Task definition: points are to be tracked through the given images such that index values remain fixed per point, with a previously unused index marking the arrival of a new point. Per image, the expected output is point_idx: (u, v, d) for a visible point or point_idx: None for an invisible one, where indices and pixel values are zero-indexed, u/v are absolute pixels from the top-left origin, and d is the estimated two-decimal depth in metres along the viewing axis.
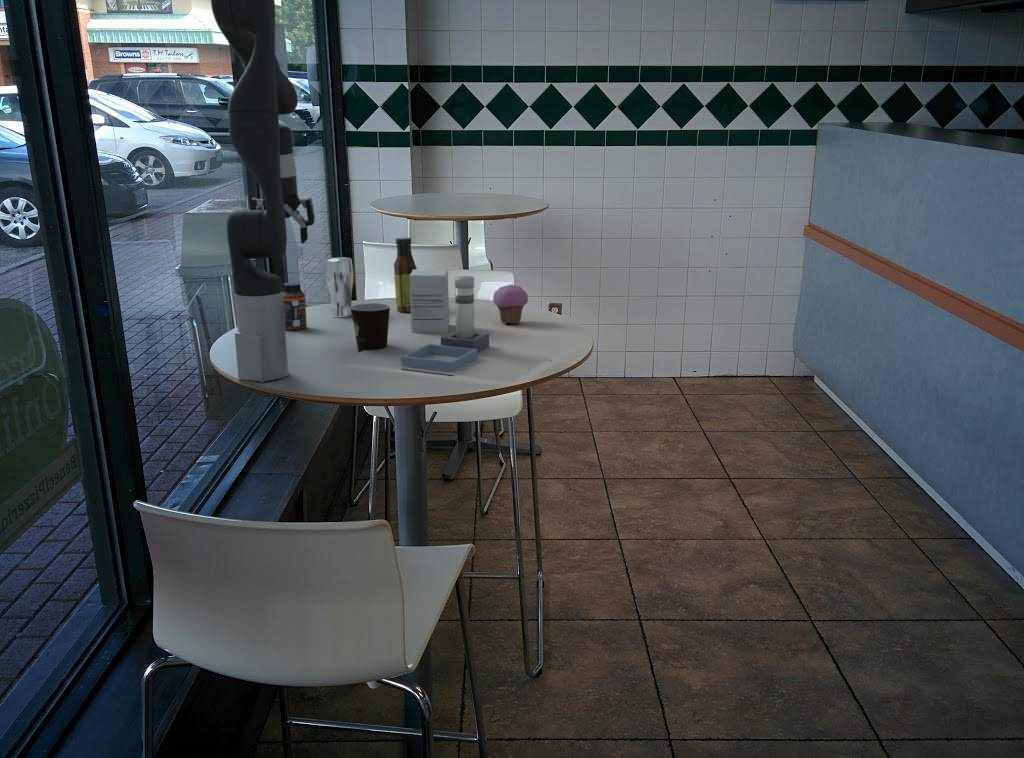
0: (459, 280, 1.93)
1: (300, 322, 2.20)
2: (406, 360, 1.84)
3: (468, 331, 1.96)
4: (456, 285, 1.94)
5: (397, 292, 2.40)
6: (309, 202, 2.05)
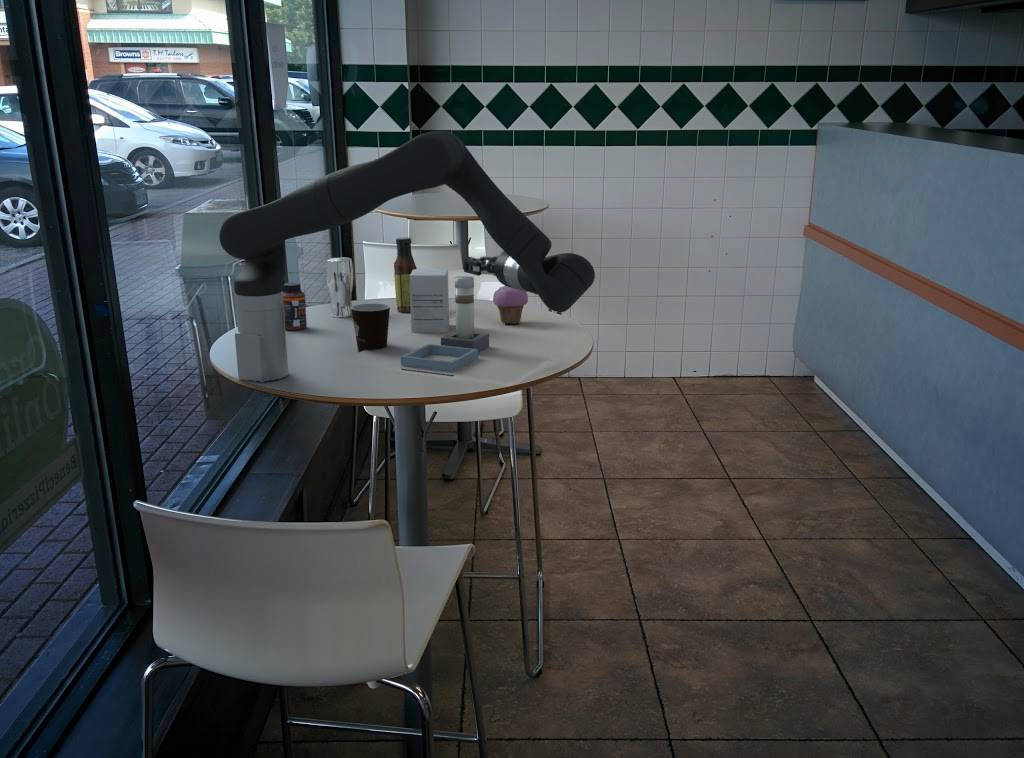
0: (459, 280, 1.93)
1: (300, 322, 2.20)
2: (406, 360, 1.84)
3: (468, 331, 1.96)
4: (456, 285, 1.93)
5: (397, 292, 2.40)
6: (476, 262, 1.72)
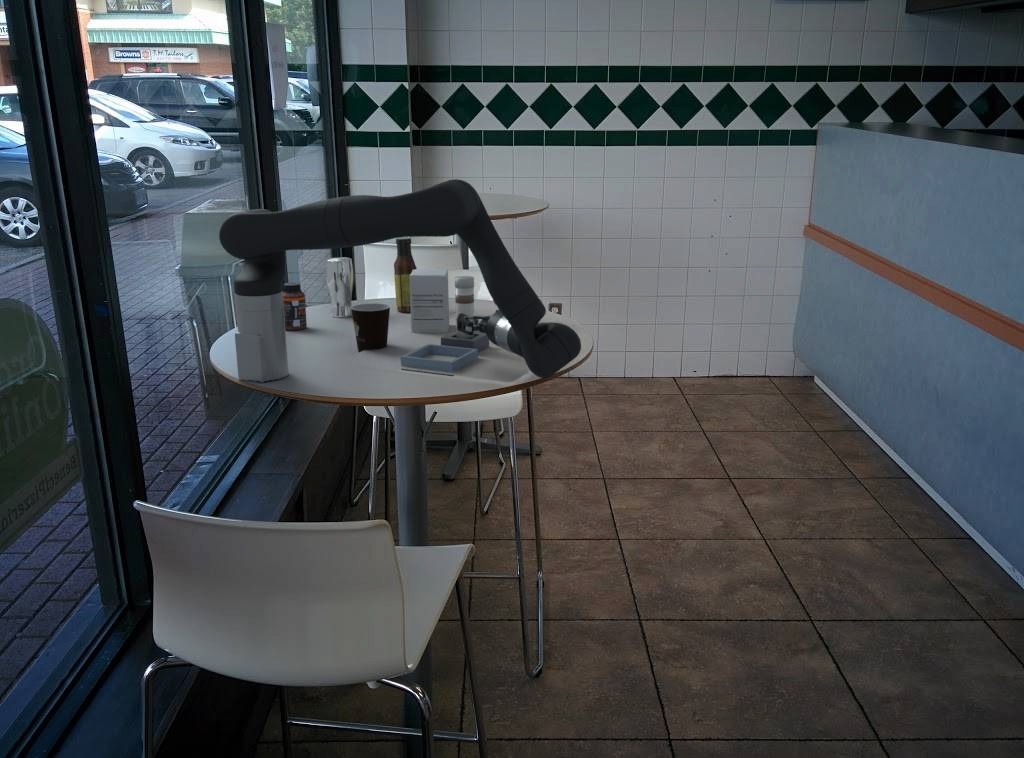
0: (459, 280, 1.93)
1: (300, 322, 2.20)
2: (406, 360, 1.84)
3: None
4: (456, 285, 1.94)
5: (397, 292, 2.40)
6: (468, 322, 1.78)
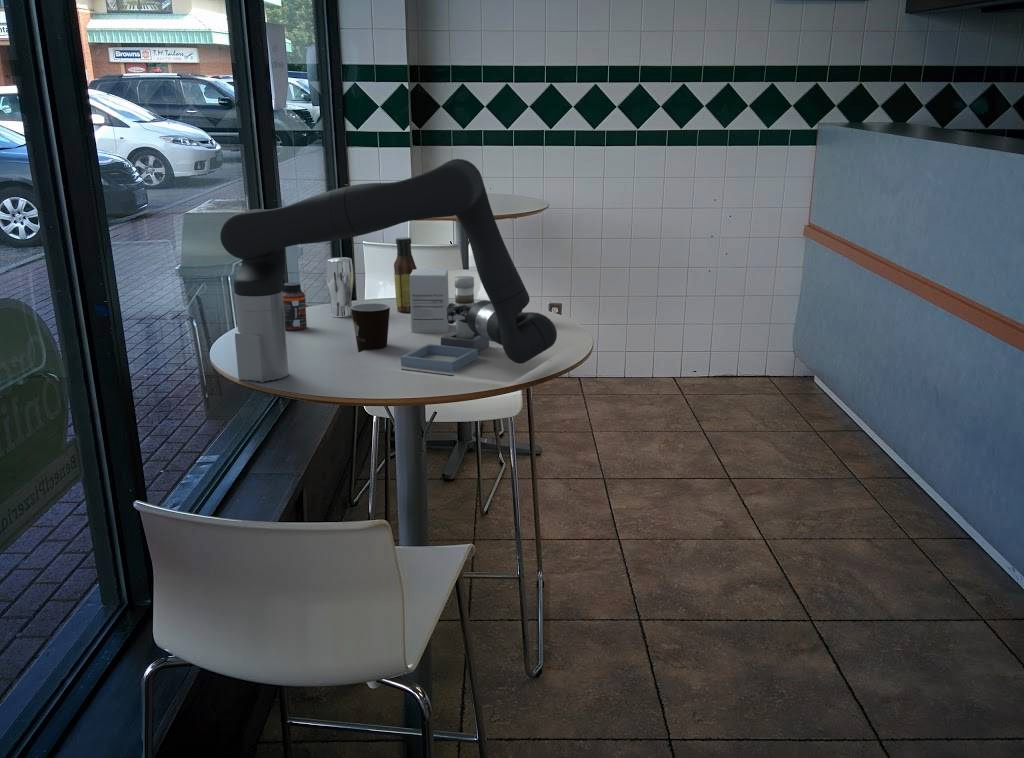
0: (459, 280, 1.93)
1: (300, 322, 2.20)
2: (406, 360, 1.84)
3: (468, 331, 1.96)
4: (456, 285, 1.94)
5: (397, 292, 2.40)
6: (449, 311, 1.88)
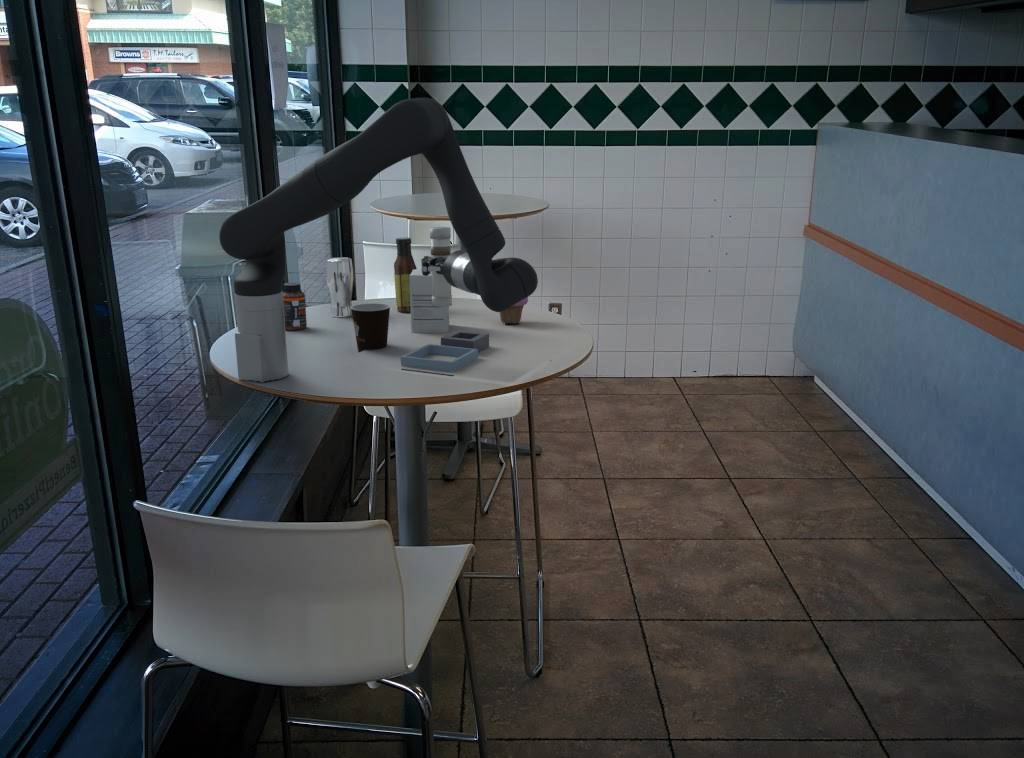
0: (434, 230, 1.80)
1: (300, 322, 2.20)
2: (406, 360, 1.84)
3: (444, 285, 1.84)
4: (431, 236, 1.81)
5: (397, 292, 2.40)
6: (423, 262, 1.75)
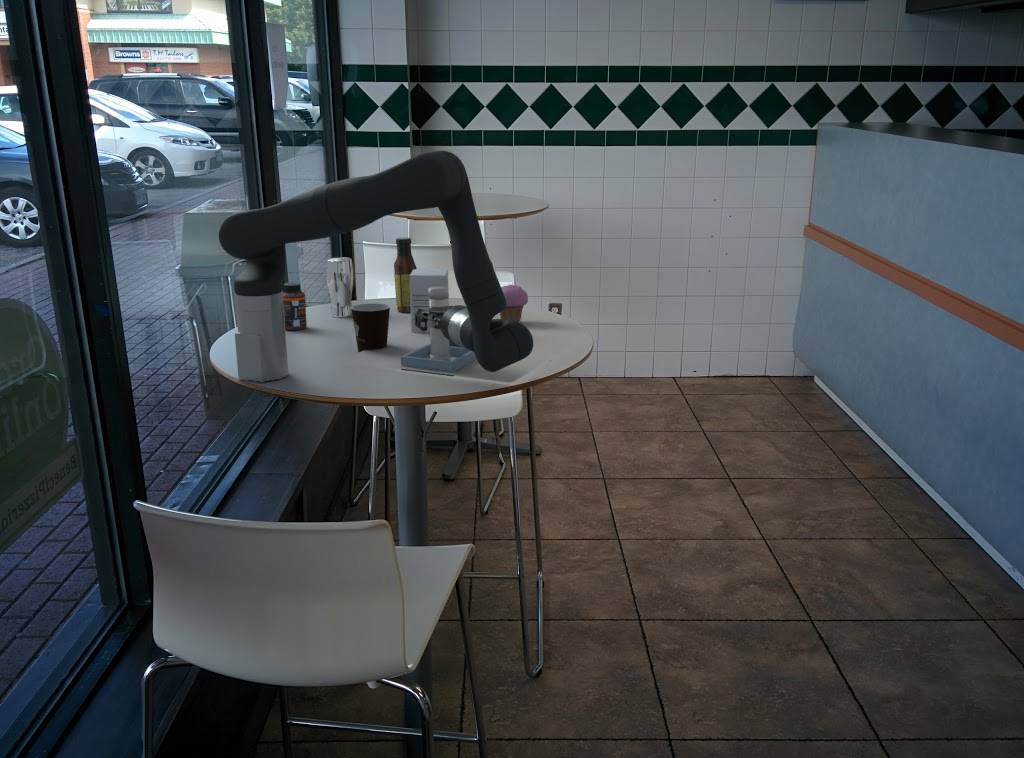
0: (432, 290, 1.82)
1: (300, 322, 2.20)
2: (406, 360, 1.84)
3: (442, 344, 1.85)
4: (429, 296, 1.83)
5: (397, 292, 2.40)
6: (422, 318, 1.76)
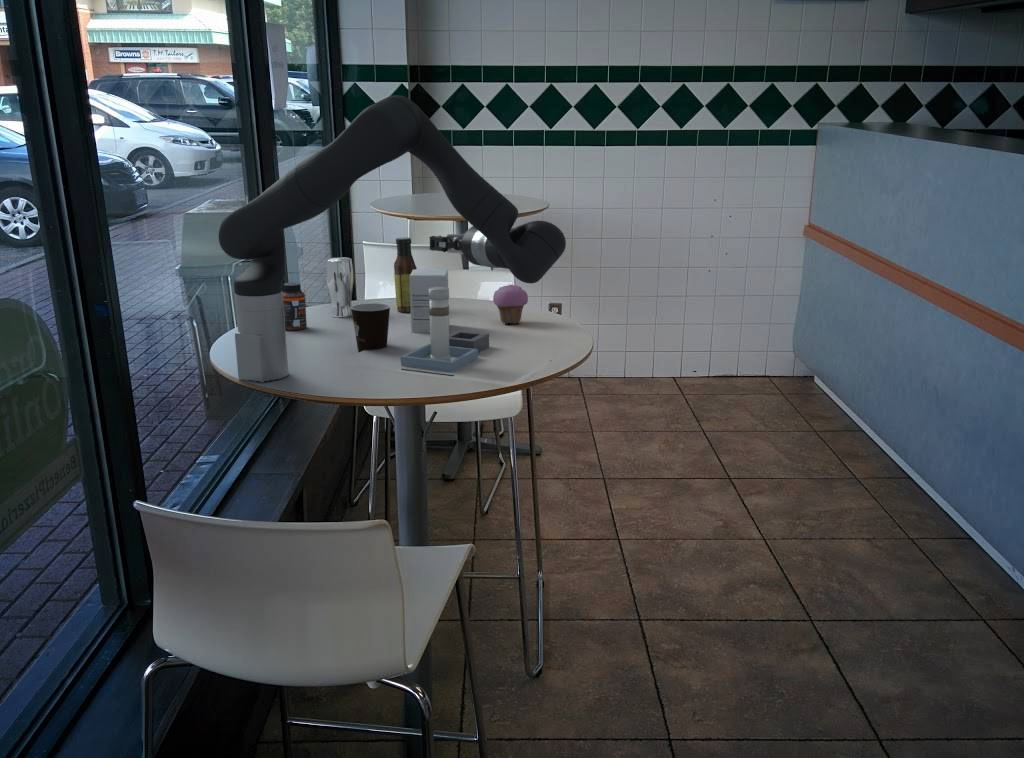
0: (433, 291, 1.82)
1: (300, 322, 2.20)
2: (406, 360, 1.84)
3: (442, 345, 1.85)
4: (430, 296, 1.83)
5: (397, 292, 2.40)
6: (442, 237, 1.64)
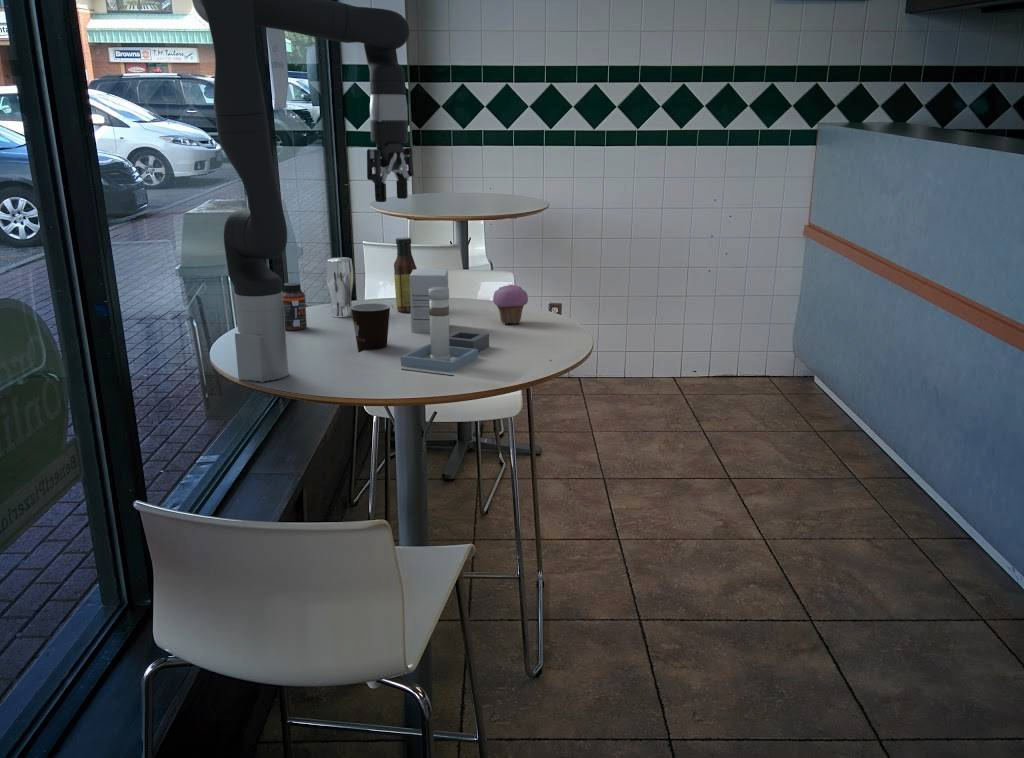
0: (433, 291, 1.82)
1: (300, 322, 2.20)
2: (406, 360, 1.84)
3: (442, 345, 1.85)
4: (430, 296, 1.83)
5: (397, 292, 2.40)
6: None
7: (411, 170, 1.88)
